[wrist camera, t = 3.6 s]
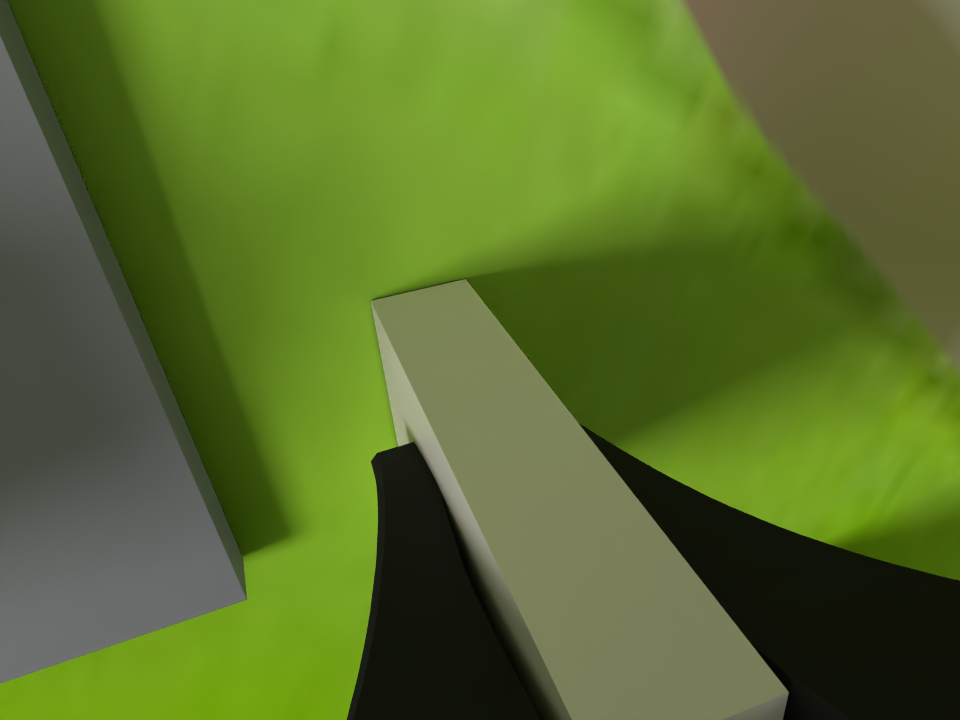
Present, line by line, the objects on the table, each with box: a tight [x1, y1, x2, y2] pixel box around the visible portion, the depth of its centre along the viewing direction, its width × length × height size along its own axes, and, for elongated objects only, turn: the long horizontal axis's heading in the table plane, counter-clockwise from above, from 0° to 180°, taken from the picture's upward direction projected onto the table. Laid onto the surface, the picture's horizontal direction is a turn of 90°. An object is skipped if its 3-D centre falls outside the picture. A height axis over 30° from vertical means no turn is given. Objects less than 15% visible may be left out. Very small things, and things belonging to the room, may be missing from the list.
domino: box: [371, 279, 789, 720], centre depth 10 cm, size 5×2×8 cm, turn 5°
